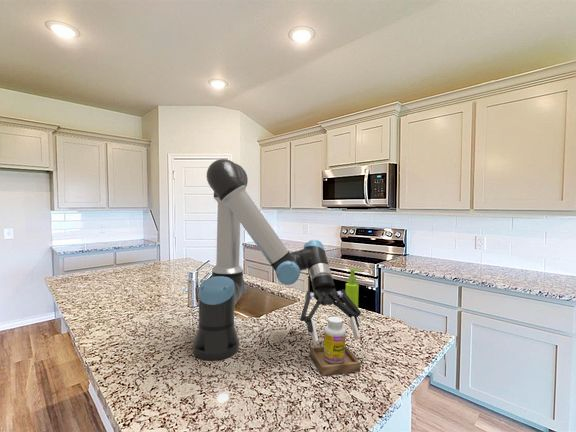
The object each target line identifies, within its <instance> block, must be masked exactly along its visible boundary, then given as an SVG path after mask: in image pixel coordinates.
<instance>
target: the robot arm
mask: <svg viewBox="0 0 576 432" xmlns="http://www.w3.org/2000/svg"><path fill="white" fill-rule="evenodd" d="M206 181H207V184H208V185H209V188H210V189H212V191H213V199H214V200H215V202H216V203H217V220H216V221H217V222H216V224H217V225H216V259H215V261H216V265H215V266H214V268H212V269H211V277H209V278H206V279H204V280H203V281H201V282H200V284H199V286H198V293H197V294H198V329H197V332H196V335H195V338H194V341H193V345H192V352H193V353H192V354H193V355H194V356H195V357H196V358H198V359H201V360H205V361H219V360H225V359H227V358H229V357H232V356H234V355H235V354H236V353H237V352H238V351H239V349H240V339H239V337H238V333H237V329H236V327H235V306H236V304H237V303H238V301H239V300H240V299H241V298H242V296H243V294H244V291H245V287H246V283H245V282H246V281H245V279H244V277H243V276H244V269H243V268H242V267H241V266H240V250H241V249H240V244H241V225H242V227H243V228H244V229H245V231H246V232H247V235H249V236H250V238H251V239H252V240H253V242H254V244H255V245H256V246H257V247H258V249H259V251H260V252H261V253H262V255H263V256H264V257H265V259H266V260H267V261H268V263H269V265H270V266H271V268H272V269H273V271H274V272H275V276H276V278H277V280H278V282H280V283H281V284H282V285H285V286H287V285H288V286H290V285H292V284H295V283H296V282H297V281H298V280H299V277H300V274H301V271H306V270H308V274H309V277H310V281H311V285H312V290H313V292H311V291H310V290H307V291H306V293H305V295H304V296H305V297H304V298H305V301H304V304H303V308H302V310H301V315H300V318H299V320H300V321H301V322H304V323H305V324H306V327H307V331H308V333H311V337H312V342H313V345H317V344H318V342H319V338H318V333H317V329H316V324H315V319H312V318H313V316H314V314H315V313H316V311H317V310H318V309H319V306H320V305H322V306H332V305H333V306H335V307H337V308H338V309H339V310H340V311H341V312H342V313H343V314H345V315H346V316H347V317H349V320H348V321H349V324H350V327H351V332H352V334H353V339H354V341H358V340H359V339H360V337H361V334H360V331H359V327H360V324H359V320H358V318H359V316H360V315H361V314H362V311H361V310H360V309H359V307H358V308H357V307H356V305H355V304H354V303H353V302H352V301H351V299H350V298H349V297H348V296H347V294H346V289H344V288H342V289H341V290H338V291H337V290H336V286H335V282H334V279H333V277H332V272H331V269H330V265H329V262H328V258H327V254H326V253H327V252H326V250H325V247H324V245H323V242H321V241H320V240H317V239H312V240H309V241H308V242H305V244H304V245H303V249H300V250H295V251H292V252H290V251H289V250H288V248H287V247H286V246H285V243H283V241H282V240H281V238H280V237H279V235H278V234H277V233H276V232H275V230H274V229H273V227H272V226H271V224H270V223H269V222H268V220H267V219H266V217H265V216H264V214H263V213H262V211H261V210H260V209H259V208H258V206H257V205H256V203H255V202H254V201H253V199H252V198H251V196H250V195H249V194H248V192H247V191H246V189H247V185H248V182H249V181H248V175H247V172H246V170H245V169H244V168H243V166H241V165H240V164H238V163H235V162H234V161H232V160H231V159H230V160H229V159H227V158H221V159H216V160H215V161H213V162H212V163H211V164H210V165H209V166H208V167H207V170H206ZM313 298H314V299H315V301H316V302H315V304H314V306H313V307H312V308H311V311H310V312H309V314H308V315H307V312H308V309H309V306H310V302H311V300H312V299H313ZM340 298H341V299H340ZM345 304H346V305H347V306H346V305H345Z"/></svg>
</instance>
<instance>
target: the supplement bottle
mask: <svg viewBox="0 0 576 432" xmlns="http://www.w3.org/2000/svg"><path fill="white" fill-rule="evenodd" d="M343 323H344V320H343V318H342V317H340V316H329V317H328V318H327V325H326V326H325V327H324V330H323V331H324V332H323V334H324V335H323V346H324V359H325V360H326V361H327V362H329V363H331V364H340V363H342V362H344V360H345V346H346V339H347V338H346V336H347V335H346V332H347V330H346V329H345V328H346V327H344V326H343Z"/></svg>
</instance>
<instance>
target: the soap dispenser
mask: <svg viewBox="0 0 576 432" xmlns="http://www.w3.org/2000/svg"><path fill="white" fill-rule="evenodd" d="M349 272H350V275H348V282H346V283H345V292H346V294H347V296H348V297H349V298H350V299H351V301H352V302H353V303H354V304H355V305H356V307H357V308H358V309H359V294H360V293H359V290H360V289H359V287H360V285H359V283H357V276H355V272H358V273H362V270H361V269H357V268H349ZM344 304H345V303H344ZM345 305H346V304H345ZM346 306H347V305H346Z"/></svg>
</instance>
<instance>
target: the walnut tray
mask: <svg viewBox="0 0 576 432" xmlns="http://www.w3.org/2000/svg"><path fill="white" fill-rule="evenodd" d="M309 356H310V358H311V360H312V361H313V362H314V365H315V367H316V369H317V370H318V372H319V373H320V375H321V376H322V377H323V376H331V375H339V374H340V375H341V374H347V373H356V372H361V362H360V361H359V360H358V359H357V358H356V356H355V355H354V354H353V353H352V352H351V350H349V348H348V347H347V345H345V360H344V362H342V363H340V364H331V363H329V362H327V361H326V360H325V359H324V345H321V346H312V347H311V346H310V347H309Z"/></svg>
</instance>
